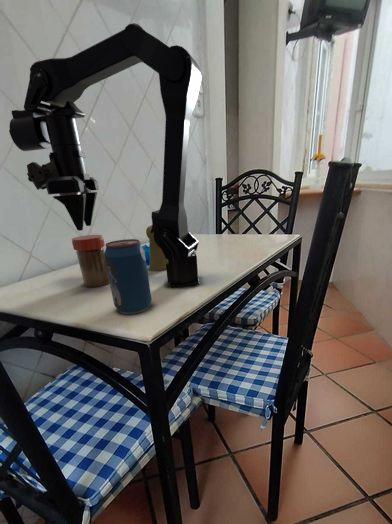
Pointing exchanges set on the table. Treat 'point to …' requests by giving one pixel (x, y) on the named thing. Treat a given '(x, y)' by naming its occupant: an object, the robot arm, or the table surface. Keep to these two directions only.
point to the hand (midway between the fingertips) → (84, 228)
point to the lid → (88, 242)
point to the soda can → (128, 275)
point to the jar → (93, 267)
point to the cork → (155, 253)
